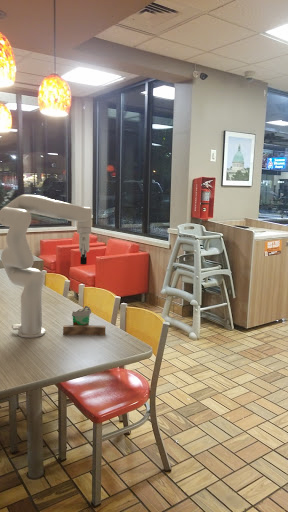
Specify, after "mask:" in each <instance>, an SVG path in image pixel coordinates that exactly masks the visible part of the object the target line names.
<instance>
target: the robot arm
mask: <svg viewBox="0 0 288 512" xmlns="http://www.w3.org/2000/svg"><path fill="white" fill-rule="evenodd" d="M31 214H34V215H40V216H43V217H49V218H53V219H61V220H62V219H63V220H64V219H65V220H67V221H69V222H76V234H78V247H79V250H78V252H79V253H80V258H79V259H80V265H87V263H88V262H87V261H88V260H87V253H89V252H90V234H92V220H93V219H92V218H93V217H92V208H91V207H89V206H82V205H77V204H72V203H69V202H64V201H61V200H57V199H56V200H55V199H52V198H49V197H45V196H42V195H38V194H20V195H19V196H17V197H16V198H14V199H13V200H12V201H10V202H9V203H7V204H6V205H5V206H3V207H2V208H1V209H0V225H2V226H4V227H6V228H7V227H9V228H8V231H7V233H6V237H5V240H6V247H5V248H3V250H2V251H1V253H0V255H1V256H0V261H1V263H2V266H3V268H4V271H5V273H6V275H7V278H8V280H9V281H10V282H11V283H12V284H13V285H15V286H17V287H18V286H19V287H23V289H22V292H21V295H20V323H19V324H11V328H12V330H13V331H17V336H19V337H21V338H26V339H29V338H31V339H32V338H33V339H34V338H39V337H41V336H44V335H45V333H46V329H45V328H44V327H43V297H42V296H43V289H44V288H43V287H44V283H45V275H44V273H43V272H42V271H41V270H39V269H38V268H34V267H32V266H33V265H34V263H35V260H34V255H33V253H32V251H31V250H32V249H31V247H30V245H29V243H28V240H27V232H28V229H29V227H30V225H31V224H32V223H31V222H32V215H31Z"/></svg>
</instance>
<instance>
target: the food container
mask: <svg viewBox="0 0 288 512" xmlns="http://www.w3.org/2000/svg"><path fill="white" fill-rule="evenodd" d="M91 310H92V309H91V308H90V307H89V306H88V305H84V307H83V308H79V309H78V310H76V311H72V313H71V316H72V325H90V316H91V314H92V311H91Z"/></svg>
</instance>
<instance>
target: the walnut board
mask: <svg viewBox="0 0 288 512" xmlns="http://www.w3.org/2000/svg"><path fill="white" fill-rule="evenodd" d="M62 327H63V328H62V335H63V336H64V335H65V336H67V335H68V336H106V325H90V324H89V325H73V324H63V326H62Z"/></svg>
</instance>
